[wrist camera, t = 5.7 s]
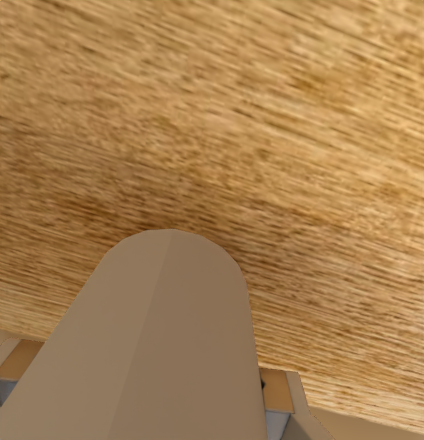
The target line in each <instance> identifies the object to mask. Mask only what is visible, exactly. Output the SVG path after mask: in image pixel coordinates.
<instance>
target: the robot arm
mask: <svg viewBox="0 0 424 440" xmlns="http://www.w3.org/2000/svg"><path fill="white" fill-rule="evenodd" d="M44 343H45V342H38V341H31V340H25V339H17V338H8V339H6V340H5V341H4V342H3V343H2V344H1V345H0V408H1V407H2V405H3V404H4V402H5V401H6V399H7V398H8V396H9V395H10V393H11V392H12V390H13V389H14V387H15V386H16V384H17V383H18V382H19V380H20V379H21V377H22V376H23V374H24V373H25V371H26V370H27V368H28V367H29V365H30V364H31V362H32V361H33V359H34V358H35V357H36V355H37V354H38V352H39V351H40V349H41V348H42V346H43V345H44ZM259 374H260V381H261V388H262V396H263V403H264V410H265V418H266V425H267V432H268V440H335V439H334V438H333V436H332V435H331V434H330V433H329V432H328V431H327V430H326V429H325V427H324V426H323V425H322V424H321V423H320V422H319V420H318V419H317V418H316V417H315V416H311V414H310V410H309V407H308V403H307V400H306V396H305V393H304V389H303V386H302V382H301V378H300V375H299V373H298V372H293V371H283V370H277V369H268V368H259Z"/></svg>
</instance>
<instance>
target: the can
mask: <svg viewBox="0 0 424 440" xmlns="http://www.w3.org/2000/svg"><path fill="white" fill-rule="evenodd" d="M0 440H268V432H267V425H266V418H265V410H264V403H263V396H262V388H261V381H260V374H259V366H258V359H257V352H256V345H255V337H254V330H253V323H252V315H251V308H250V301H249V293H248V286H247V283H246V281H245V278H244V276H243V274H242V271H241V269H240V266H239V265H238V264H237V263H236V261H235V260H234V259H233V258H232V257H231V256H230V255H229V254H228V253H227V252H226V251H225V250H224V248H222V247H221V246H219V245H217V244H215V243H214V242H212V241H210V240H208V239H207V238H205V237H203V236H201V235H199V234H194V233H190V232H186V231H182V230H178V229H157V230H146V231H143V232H140V233H138V234H135V235H132V236H129V237H127V238H124V239H123V240H121V241H120V242H119V243H118V244H116V245H115V246H114V247H113V248H111V249H110V250H109V251H108V252H107V253H106V254H105V255H104V257H103V258H102V259H101V261H100V262H99V264H98V265H97V267H96V268H95V270H94V271H93V273H92V274H91V276H90V277H89V279H88V280H87V282H86V283H85V284H84V286H83V287H82V289H81V290H80V292H79V293H78V295H77V296H76V298H75V299H74V301H73V302H72V304H71V305H70V307H69V308H68V309H67V311H66V312H65V314H64V315H63V317H62V318H61V320H60V321H59V323H58V324H57V326H56V327H55V329H54V330H53V332H52V333H51V334H50V336H49V337H48V339H47V340H46V342H45V343H44V345H43V346H42V348H41V349H40V351H39V352H38V354H37V355H36V357H35V358H34V359H33V361H32V362H31V364H30V365H29V367H28V368H27V370H26V371H25V373H24V374H23V376H22V377H21V379H20V380H19V382H18V383H17V384H16V386H15V387H14V389H13V390H12V392H11V393H10V395H9V396H8V398H7V399H6V401H5V402H4V404H3V405H2V407H1V408H0Z"/></svg>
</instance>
